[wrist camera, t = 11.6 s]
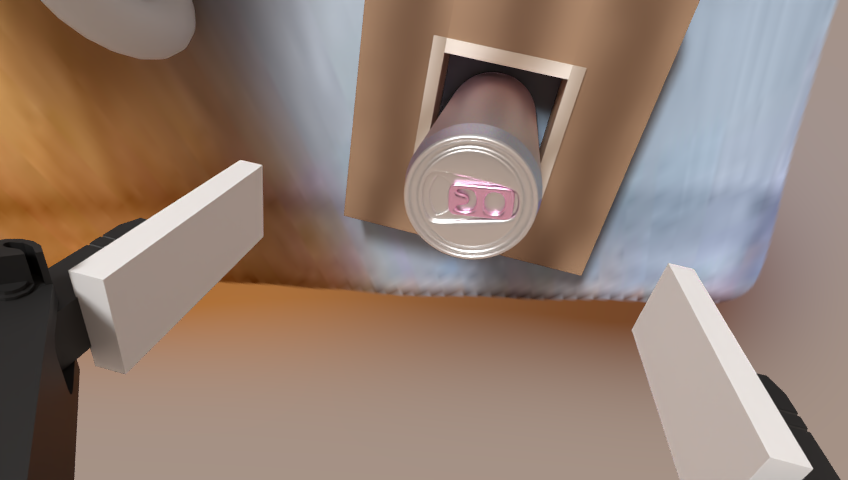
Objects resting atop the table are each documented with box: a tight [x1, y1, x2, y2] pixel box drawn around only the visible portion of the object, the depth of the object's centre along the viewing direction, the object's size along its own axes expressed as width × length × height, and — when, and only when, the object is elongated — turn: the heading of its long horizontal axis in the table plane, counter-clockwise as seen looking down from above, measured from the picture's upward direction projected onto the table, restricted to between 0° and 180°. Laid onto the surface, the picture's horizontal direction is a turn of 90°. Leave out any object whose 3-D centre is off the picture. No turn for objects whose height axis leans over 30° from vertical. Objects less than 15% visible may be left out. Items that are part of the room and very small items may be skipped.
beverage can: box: [404, 72, 543, 259], centre depth 25 cm, size 6×6×15 cm
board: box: [344, 0, 700, 275], centre depth 30 cm, size 18×18×3 cm
